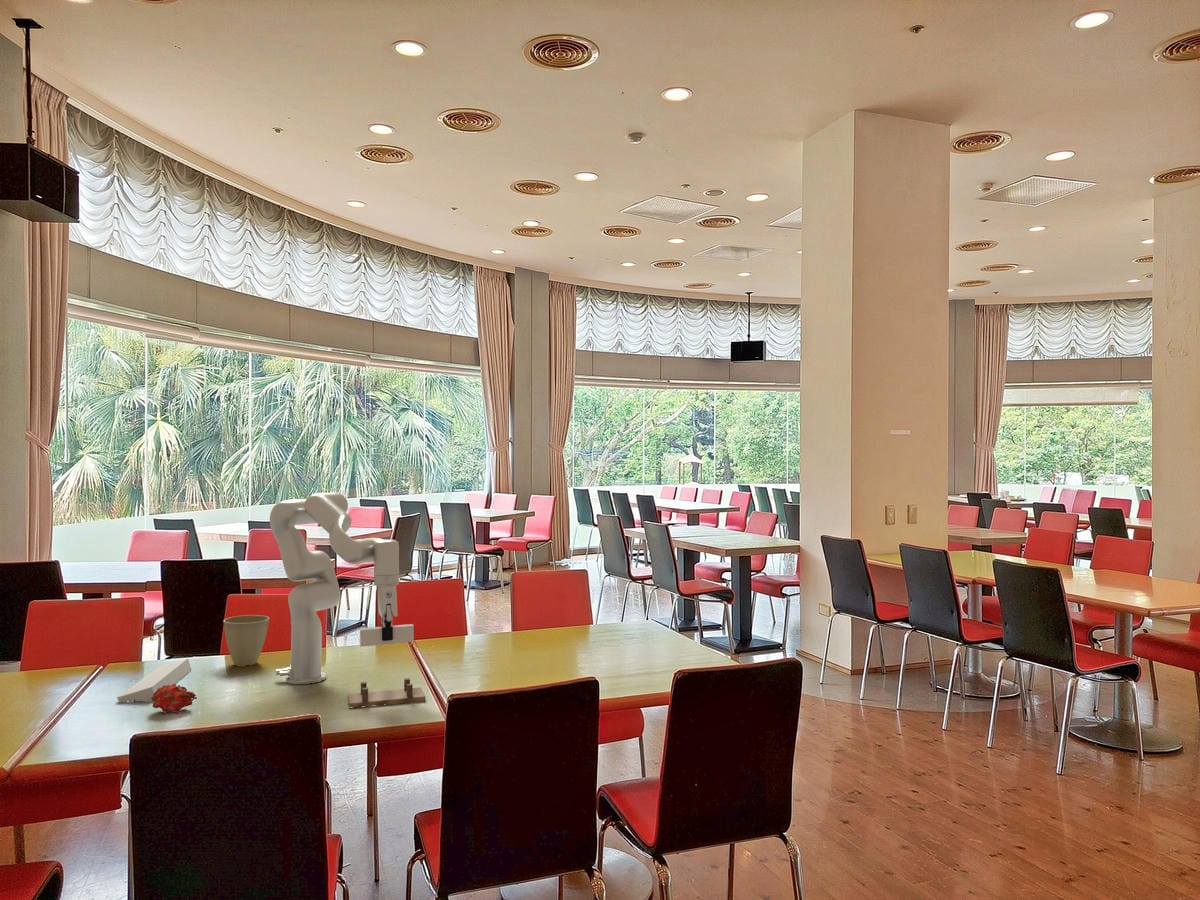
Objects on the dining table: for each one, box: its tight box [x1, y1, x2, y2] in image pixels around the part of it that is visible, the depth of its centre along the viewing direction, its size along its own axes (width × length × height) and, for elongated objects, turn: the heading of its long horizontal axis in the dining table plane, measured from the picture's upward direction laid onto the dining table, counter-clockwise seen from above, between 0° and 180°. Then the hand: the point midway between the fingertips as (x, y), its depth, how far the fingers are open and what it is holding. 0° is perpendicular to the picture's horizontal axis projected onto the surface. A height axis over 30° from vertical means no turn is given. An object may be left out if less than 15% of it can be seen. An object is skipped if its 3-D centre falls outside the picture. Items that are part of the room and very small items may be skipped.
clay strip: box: [359, 623, 415, 648], centre depth 248 cm, size 16×3×5 cm, turn 112°
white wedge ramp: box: [116, 658, 192, 703], centre depth 257 cm, size 34×5×10 cm
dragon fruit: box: [151, 684, 198, 714], centre depth 232 cm, size 8×8×12 cm
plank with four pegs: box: [347, 677, 426, 708], centre depth 244 cm, size 22×10×5 cm, turn 110°
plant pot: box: [223, 614, 270, 667], centre depth 284 cm, size 15×15×16 cm
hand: (386, 638), depth 248 cm, fingers closed on clay strip, 2 cm apart
